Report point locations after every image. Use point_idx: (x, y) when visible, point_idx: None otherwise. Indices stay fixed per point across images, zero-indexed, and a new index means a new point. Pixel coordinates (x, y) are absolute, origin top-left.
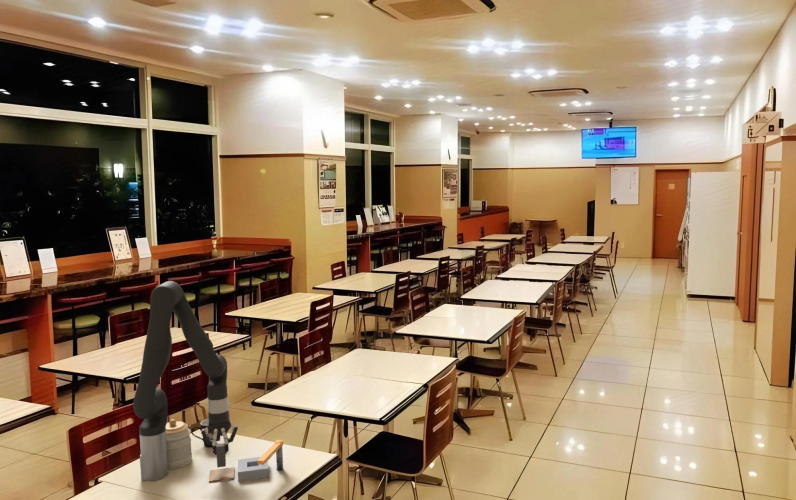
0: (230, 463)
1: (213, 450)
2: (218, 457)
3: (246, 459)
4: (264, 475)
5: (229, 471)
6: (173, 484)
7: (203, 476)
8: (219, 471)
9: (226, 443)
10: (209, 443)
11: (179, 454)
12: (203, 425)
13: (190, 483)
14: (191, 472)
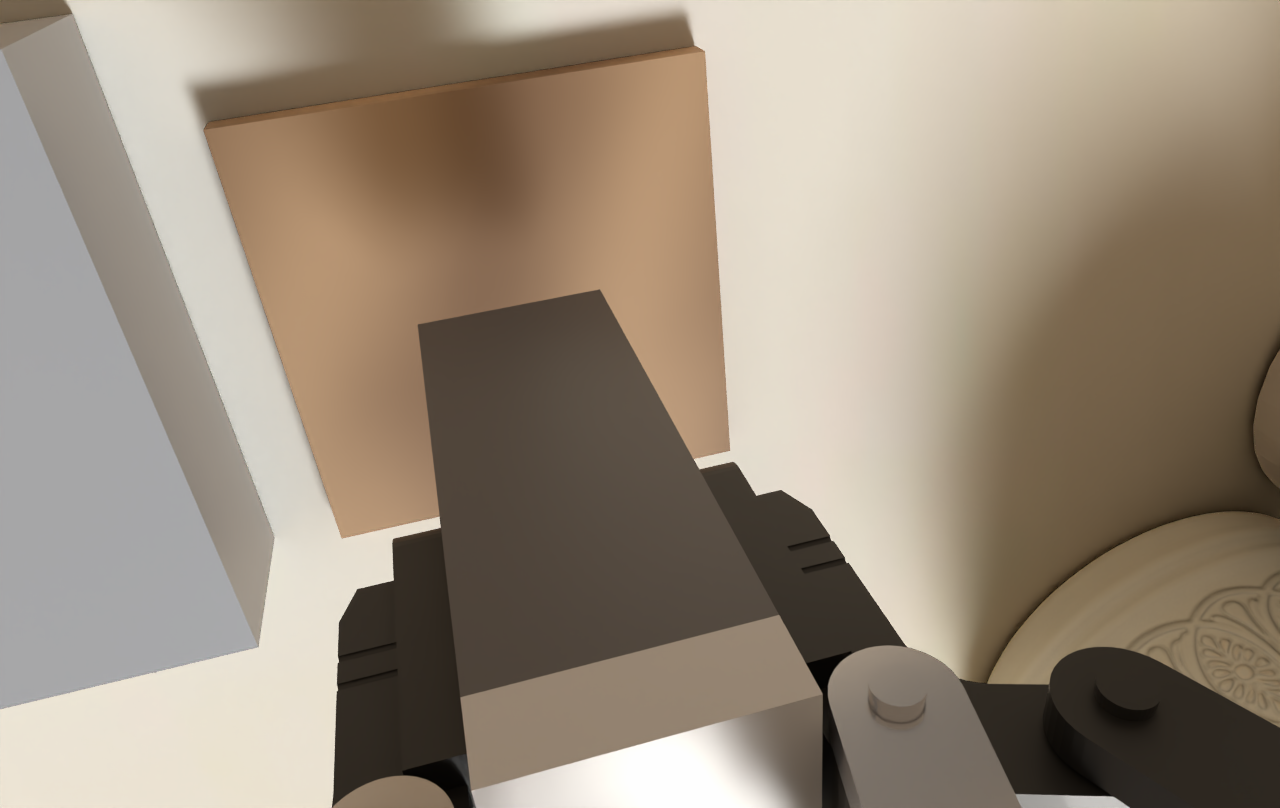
0: None
1: (816, 553)
2: (614, 409)
3: (64, 654)
4: None
5: (386, 396)
6: (1237, 64)
7: (807, 294)
8: None
9: (377, 806)
10: (1098, 689)
11: (1247, 676)
12: None
13: (997, 61)
14: (978, 426)
